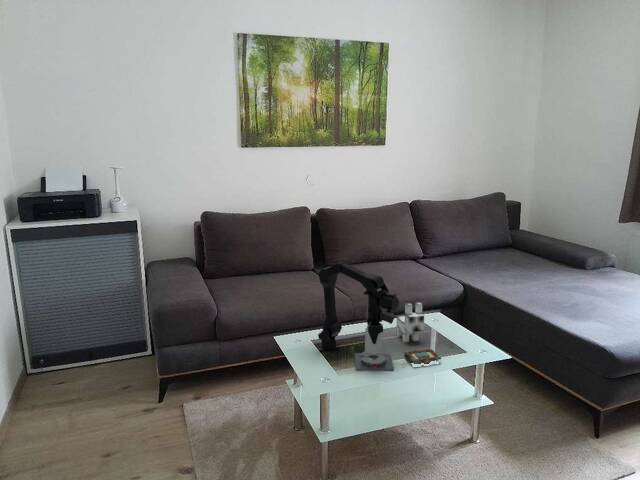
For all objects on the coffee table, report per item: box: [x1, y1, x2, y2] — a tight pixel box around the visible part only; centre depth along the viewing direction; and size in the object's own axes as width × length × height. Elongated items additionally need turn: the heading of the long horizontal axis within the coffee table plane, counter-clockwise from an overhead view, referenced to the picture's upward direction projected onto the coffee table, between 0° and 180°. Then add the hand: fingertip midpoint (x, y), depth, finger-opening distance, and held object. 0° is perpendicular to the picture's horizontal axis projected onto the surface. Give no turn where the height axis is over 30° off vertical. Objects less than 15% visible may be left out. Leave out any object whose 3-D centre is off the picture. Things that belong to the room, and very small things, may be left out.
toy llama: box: [396, 301, 425, 344], centre depth 234 cm, size 8×18×20 cm, turn 13°
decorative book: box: [400, 348, 442, 365], centre depth 210 cm, size 13×18×5 cm
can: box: [364, 325, 384, 355], centre depth 210 cm, size 8×8×12 cm
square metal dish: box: [354, 350, 395, 372], centre depth 211 cm, size 16×15×4 cm
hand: (373, 340), depth 210 cm, fingers closed on can, 7 cm apart
